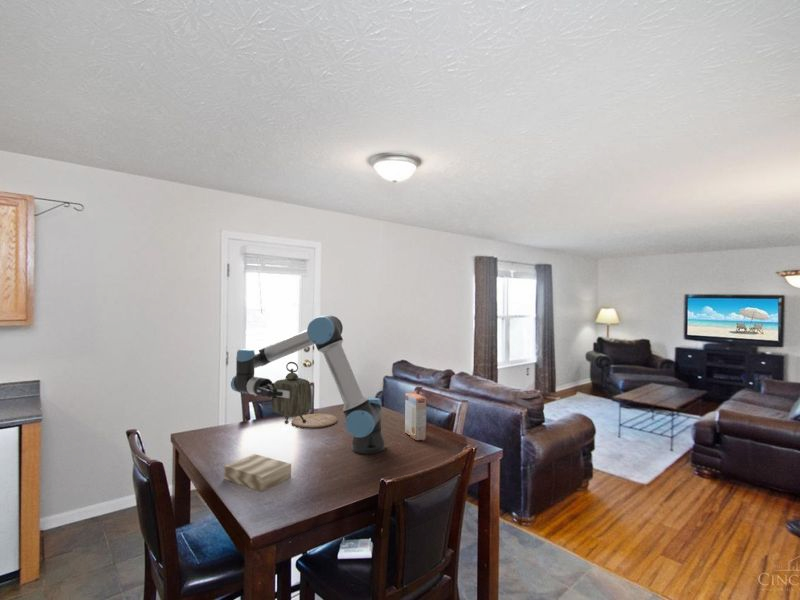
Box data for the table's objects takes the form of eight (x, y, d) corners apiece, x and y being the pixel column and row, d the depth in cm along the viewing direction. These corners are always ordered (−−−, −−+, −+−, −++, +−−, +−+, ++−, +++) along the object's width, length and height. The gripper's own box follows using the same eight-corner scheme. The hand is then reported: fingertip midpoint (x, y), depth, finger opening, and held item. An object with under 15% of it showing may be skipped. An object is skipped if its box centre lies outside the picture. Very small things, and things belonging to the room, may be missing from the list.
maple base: (290, 477, 151) (291, 463, 151) (261, 491, 139) (262, 477, 139) (254, 466, 161) (254, 454, 161) (224, 479, 149) (224, 465, 149)
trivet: (283, 422, 225) (283, 419, 225) (320, 414, 243) (321, 411, 243) (306, 432, 207) (306, 428, 207) (345, 423, 225) (345, 419, 225)
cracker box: (426, 440, 195) (427, 397, 196) (415, 441, 193) (415, 398, 193) (415, 432, 208) (415, 392, 209) (404, 433, 206) (404, 392, 206)
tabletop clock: (310, 423, 163) (312, 362, 164) (293, 428, 156) (295, 364, 157) (287, 417, 172) (288, 359, 172) (269, 422, 164) (271, 361, 165)
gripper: (279, 390, 182) (316, 396, 172) (238, 400, 163) (277, 407, 152) (279, 374, 183) (317, 379, 172) (238, 381, 163) (278, 387, 152)
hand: (298, 392), depth 162 cm, fingers closed on tabletop clock, 10 cm apart
